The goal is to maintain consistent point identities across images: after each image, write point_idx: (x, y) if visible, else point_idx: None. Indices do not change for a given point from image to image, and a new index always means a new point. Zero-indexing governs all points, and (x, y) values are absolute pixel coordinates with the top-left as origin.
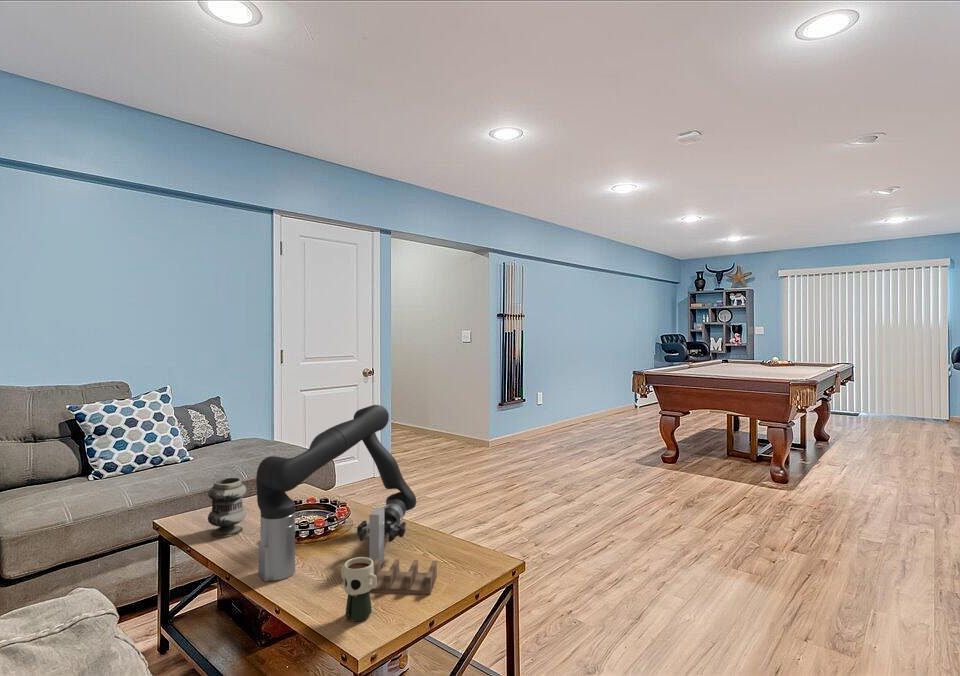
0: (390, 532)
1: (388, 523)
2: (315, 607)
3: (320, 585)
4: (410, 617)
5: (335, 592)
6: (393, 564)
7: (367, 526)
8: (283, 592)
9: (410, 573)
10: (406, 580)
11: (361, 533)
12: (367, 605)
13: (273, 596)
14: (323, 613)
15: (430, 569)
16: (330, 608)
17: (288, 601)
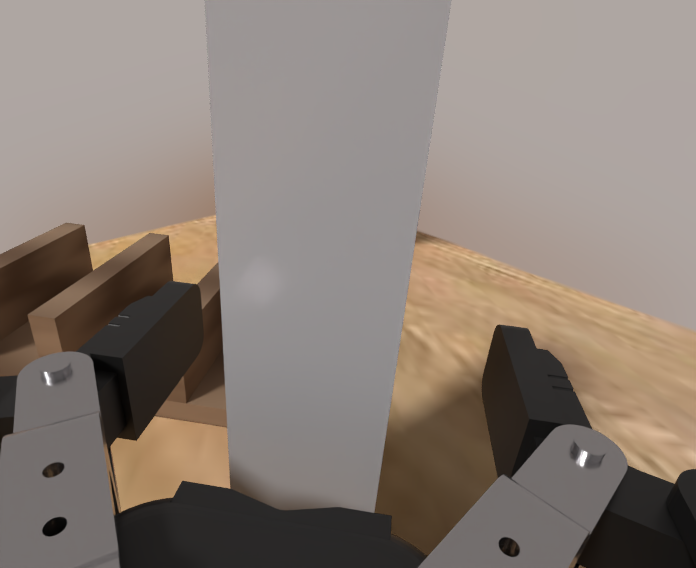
0: (159, 316)
1: (91, 530)
2: (486, 282)
3: (568, 375)
4: (194, 235)
5: (465, 331)
6: (204, 297)
7: (572, 509)
8: (681, 349)
9: (140, 244)
10: (168, 251)
11: (516, 328)
12: None
13: (690, 334)
14: (445, 264)
15: (22, 252)
16: (436, 275)
17: (603, 309)
